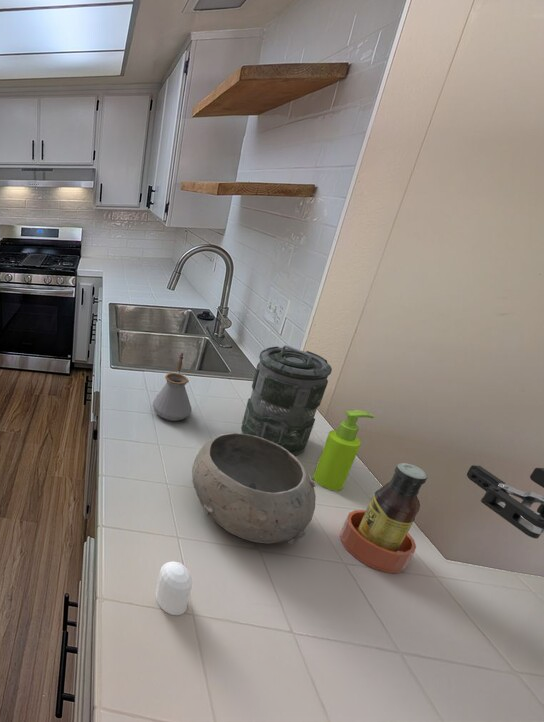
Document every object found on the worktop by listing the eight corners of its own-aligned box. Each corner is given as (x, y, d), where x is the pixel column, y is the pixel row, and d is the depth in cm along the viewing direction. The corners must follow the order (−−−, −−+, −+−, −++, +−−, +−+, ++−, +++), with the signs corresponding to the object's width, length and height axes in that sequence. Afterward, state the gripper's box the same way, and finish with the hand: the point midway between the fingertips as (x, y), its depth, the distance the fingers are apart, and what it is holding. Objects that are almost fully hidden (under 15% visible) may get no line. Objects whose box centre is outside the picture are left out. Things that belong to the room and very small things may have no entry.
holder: (400, 542, 78) (409, 524, 76) (411, 583, 70) (422, 564, 68) (338, 519, 83) (345, 502, 81) (341, 555, 75) (350, 537, 73)
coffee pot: (188, 428, 113) (196, 384, 107) (148, 419, 118) (154, 376, 112) (193, 394, 131) (201, 354, 125) (159, 387, 135) (164, 348, 130)
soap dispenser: (353, 490, 91) (383, 420, 83) (323, 490, 91) (351, 420, 83) (335, 473, 96) (362, 405, 88) (307, 472, 96) (332, 405, 88)
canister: (317, 447, 105) (350, 355, 94) (281, 465, 99) (311, 368, 88) (263, 417, 118) (286, 333, 107) (228, 431, 112) (249, 343, 101)
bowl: (169, 477, 95) (178, 427, 89) (257, 471, 97) (271, 422, 91) (220, 564, 74) (236, 506, 68) (330, 554, 75) (355, 497, 70)
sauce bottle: (356, 527, 80) (391, 451, 73) (396, 546, 76) (437, 468, 68) (351, 547, 76) (387, 468, 68) (392, 568, 72) (435, 487, 64)
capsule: (151, 585, 70) (156, 555, 67) (179, 583, 70) (186, 553, 67) (162, 616, 65) (168, 585, 62) (192, 614, 65) (200, 582, 62)
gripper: (773, 560, 38) (570, 451, 53) (618, 553, 39) (461, 448, 54) (720, 608, 41) (542, 493, 56) (577, 601, 42) (439, 489, 57)
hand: (502, 471), depth 55 cm, fingers open, 8 cm apart
